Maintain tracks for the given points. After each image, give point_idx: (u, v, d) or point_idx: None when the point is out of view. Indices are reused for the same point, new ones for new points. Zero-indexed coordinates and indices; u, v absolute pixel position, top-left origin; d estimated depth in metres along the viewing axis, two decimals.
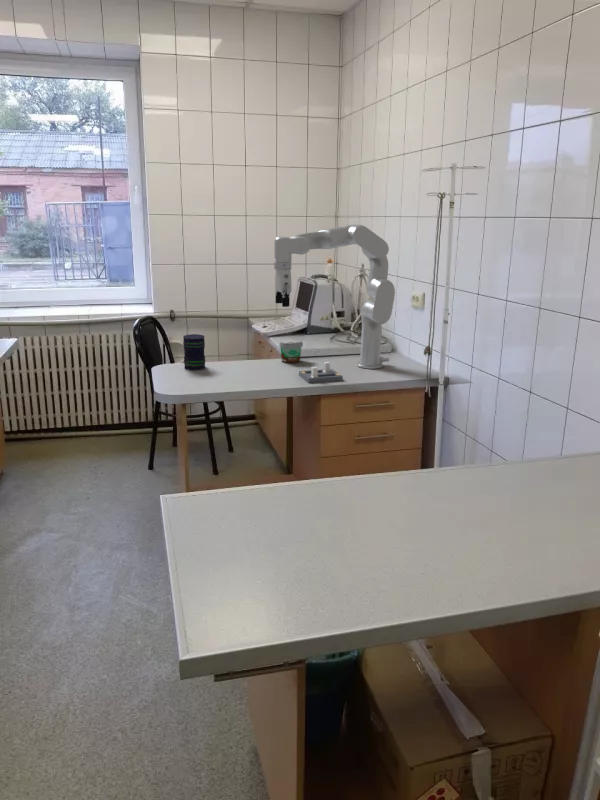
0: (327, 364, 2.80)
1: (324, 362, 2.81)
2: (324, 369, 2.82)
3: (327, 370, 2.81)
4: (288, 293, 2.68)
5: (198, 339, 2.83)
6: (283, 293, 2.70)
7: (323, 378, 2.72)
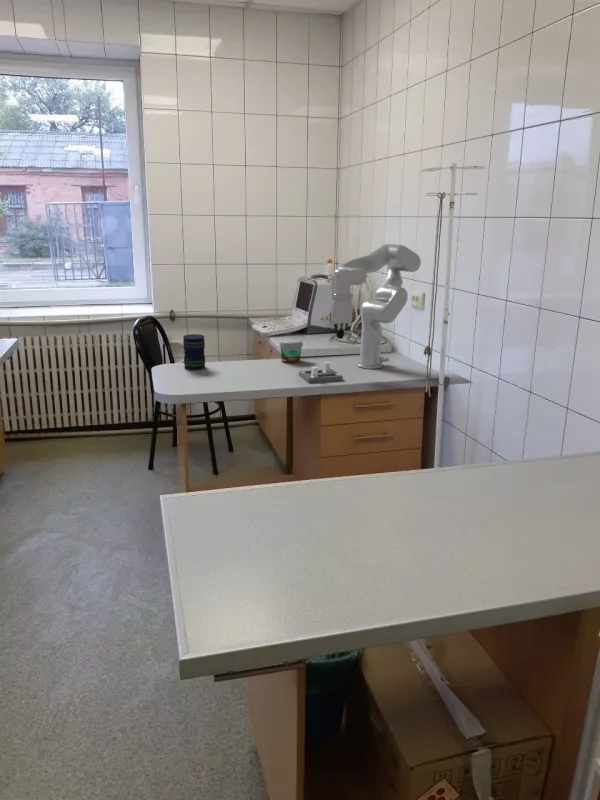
0: (327, 364, 2.80)
1: (324, 362, 2.81)
2: (324, 369, 2.82)
3: (327, 370, 2.81)
4: None
5: (198, 339, 2.83)
6: (345, 326, 2.77)
7: (323, 378, 2.72)
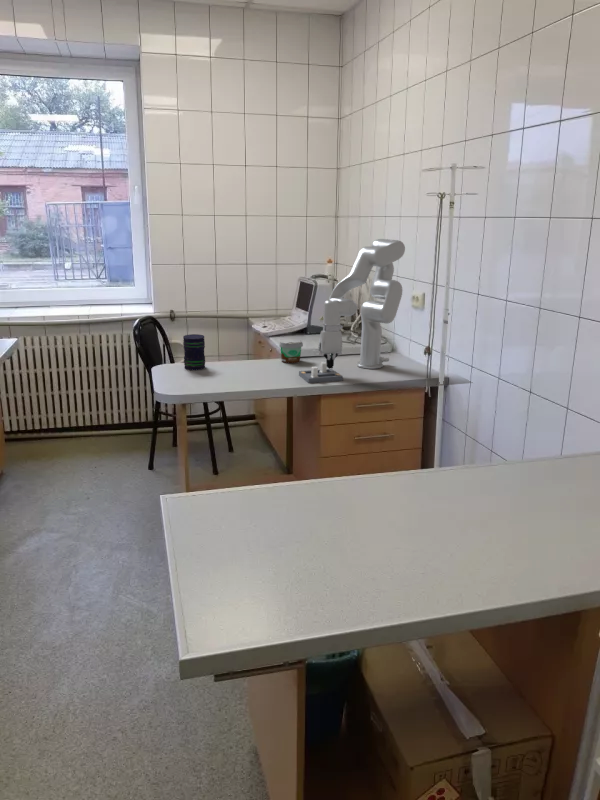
0: (324, 364, 2.79)
1: (321, 362, 2.81)
2: (321, 369, 2.81)
3: (324, 370, 2.80)
4: None
5: (198, 339, 2.83)
6: (335, 356, 2.80)
7: (323, 378, 2.72)
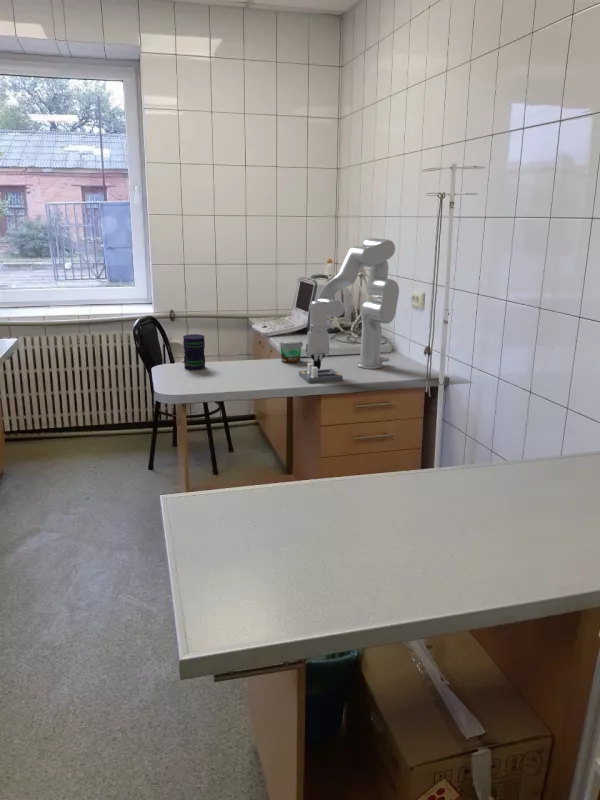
0: (311, 365, 2.77)
1: (308, 363, 2.79)
2: (308, 370, 2.79)
3: None
4: None
5: (198, 339, 2.83)
6: (322, 357, 2.78)
7: (323, 378, 2.72)
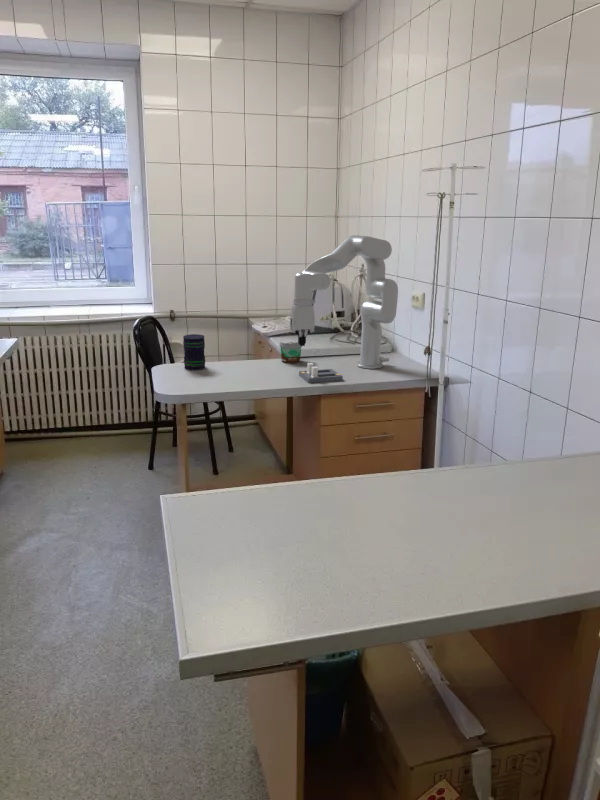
0: (311, 365, 2.77)
1: (308, 363, 2.79)
2: (308, 370, 2.79)
3: None
4: None
5: (198, 339, 2.83)
6: (307, 333, 2.65)
7: (323, 378, 2.72)
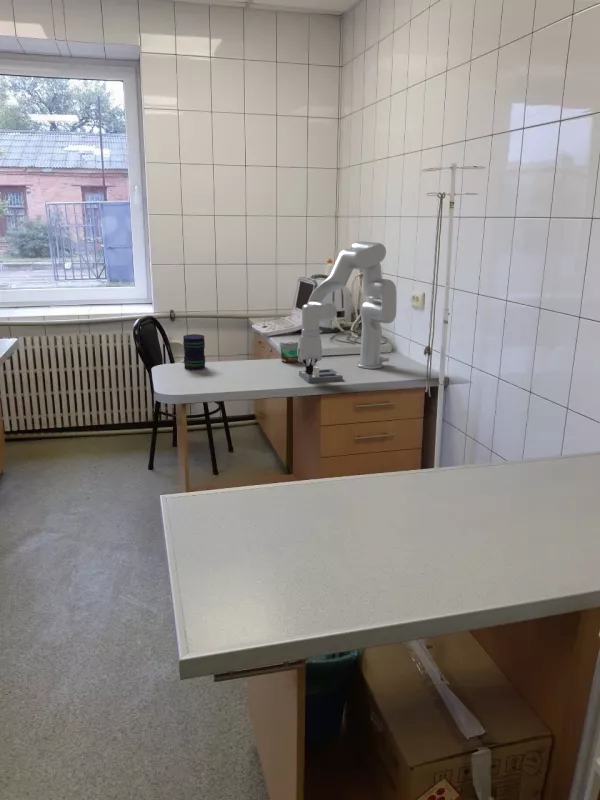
0: None
1: None
2: None
3: None
4: None
5: (198, 339, 2.83)
6: (314, 362, 2.70)
7: (323, 378, 2.72)
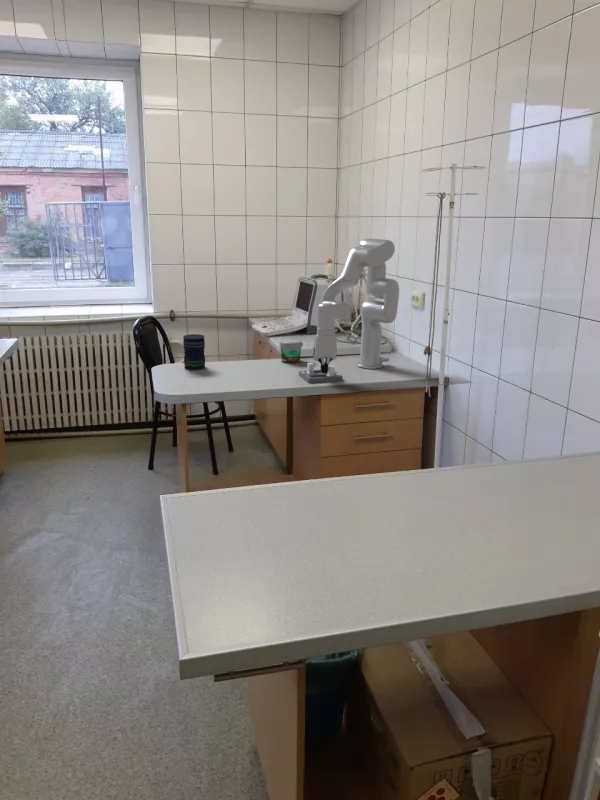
0: (311, 365, 2.77)
1: (308, 363, 2.79)
2: (308, 370, 2.79)
3: (311, 371, 2.78)
4: None
5: (198, 339, 2.83)
6: (329, 360, 2.72)
7: (323, 378, 2.72)
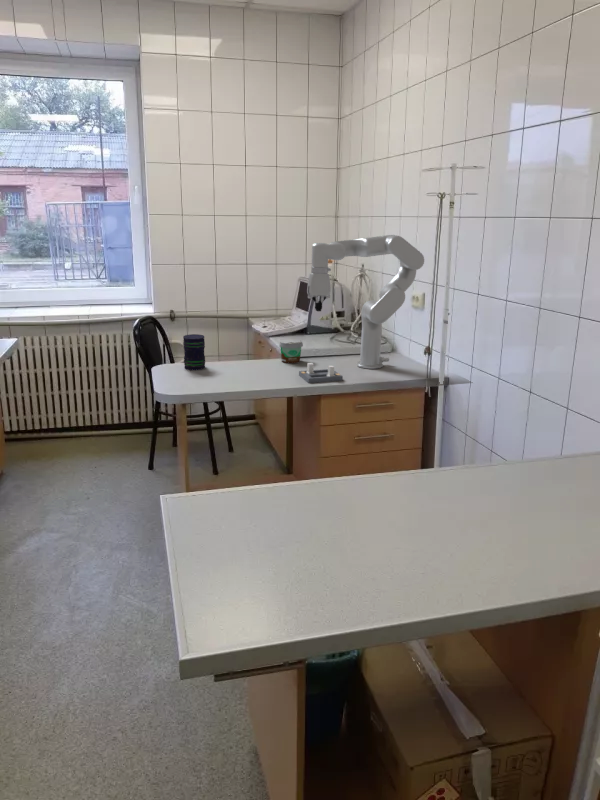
0: (311, 365, 2.77)
1: (308, 363, 2.79)
2: (308, 370, 2.79)
3: (311, 371, 2.78)
4: None
5: (198, 339, 2.83)
6: (323, 299, 2.86)
7: (323, 378, 2.72)
